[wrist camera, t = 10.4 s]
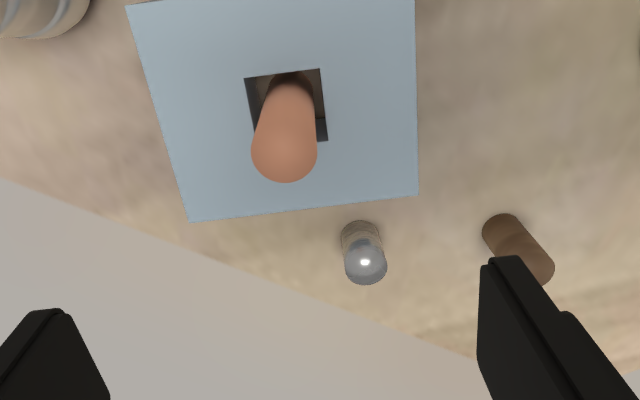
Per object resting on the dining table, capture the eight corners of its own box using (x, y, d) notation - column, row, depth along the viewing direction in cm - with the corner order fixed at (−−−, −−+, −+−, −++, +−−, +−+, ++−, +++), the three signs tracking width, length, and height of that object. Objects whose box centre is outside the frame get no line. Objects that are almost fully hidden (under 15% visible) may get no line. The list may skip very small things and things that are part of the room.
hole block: (396, -34, 29) (413, -34, 24) (404, 166, 35) (418, 195, 31) (151, 0, 29) (124, 5, 25) (203, 191, 35) (189, 223, 31)
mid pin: (521, 211, 37) (557, 251, 32) (518, 243, 39) (552, 287, 33) (482, 216, 37) (512, 257, 32) (481, 247, 39) (509, 292, 33)
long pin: (309, 66, 31) (312, 116, 21) (315, 111, 33) (321, 178, 22) (264, 72, 31) (244, 125, 21) (272, 116, 33) (257, 186, 22)
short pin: (377, 218, 37) (386, 248, 33) (379, 250, 39) (388, 282, 35) (339, 223, 37) (343, 253, 33) (342, 254, 39) (347, 287, 35)
